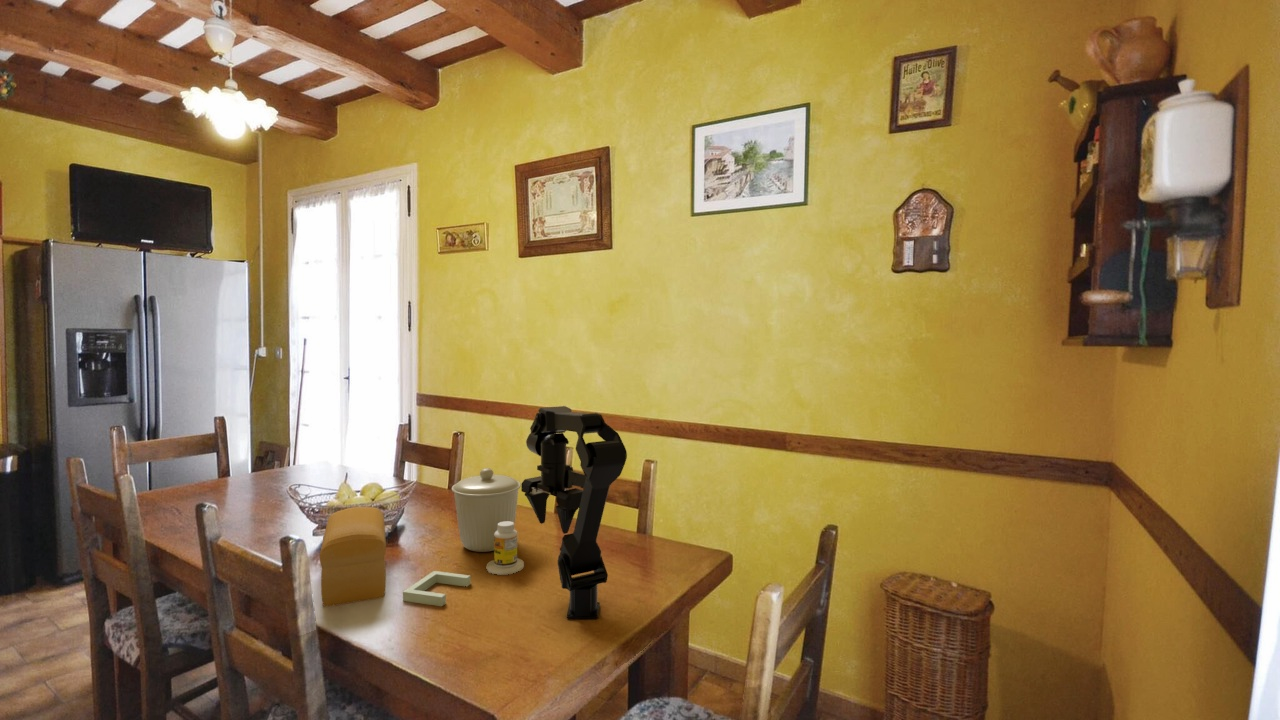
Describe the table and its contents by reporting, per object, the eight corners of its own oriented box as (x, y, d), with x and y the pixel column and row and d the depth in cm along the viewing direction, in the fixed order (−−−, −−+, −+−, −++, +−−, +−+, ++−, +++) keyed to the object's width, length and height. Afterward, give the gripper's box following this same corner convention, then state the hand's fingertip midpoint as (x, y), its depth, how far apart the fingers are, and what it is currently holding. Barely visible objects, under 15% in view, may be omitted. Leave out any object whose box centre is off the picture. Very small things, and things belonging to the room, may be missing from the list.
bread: (386, 597, 131) (385, 530, 131) (320, 608, 126) (318, 538, 125) (384, 557, 154) (383, 500, 153) (328, 565, 148) (326, 506, 148)
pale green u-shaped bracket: (470, 584, 138) (470, 575, 138) (441, 606, 127) (441, 597, 127) (434, 579, 141) (434, 570, 141) (402, 600, 130) (402, 591, 130)
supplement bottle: (491, 562, 149) (491, 521, 148) (513, 558, 152) (513, 518, 151) (497, 570, 144) (497, 528, 143) (520, 566, 147) (520, 524, 146)
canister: (533, 547, 161) (532, 470, 160) (468, 563, 150) (467, 480, 149) (503, 529, 175) (502, 458, 174) (442, 543, 164) (441, 466, 163)
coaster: (520, 575, 143) (520, 571, 143) (482, 575, 143) (482, 571, 143) (526, 560, 152) (526, 557, 152) (491, 560, 152) (491, 557, 152)
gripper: (606, 463, 136) (606, 530, 137) (558, 450, 150) (558, 511, 151) (566, 470, 129) (566, 542, 129) (520, 456, 142) (520, 521, 143)
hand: (553, 528), depth 138 cm, fingers open, 9 cm apart
